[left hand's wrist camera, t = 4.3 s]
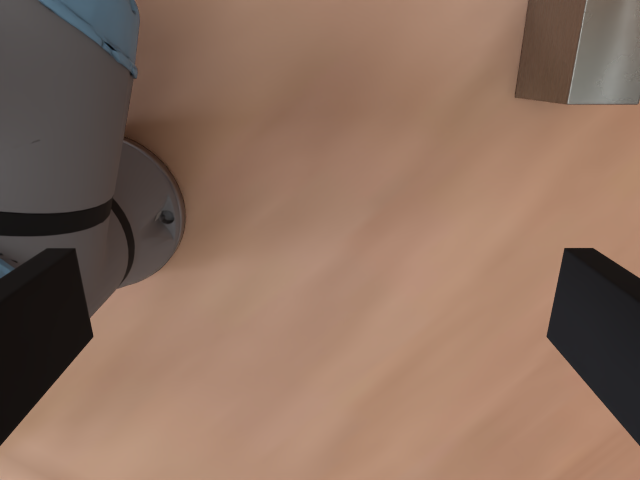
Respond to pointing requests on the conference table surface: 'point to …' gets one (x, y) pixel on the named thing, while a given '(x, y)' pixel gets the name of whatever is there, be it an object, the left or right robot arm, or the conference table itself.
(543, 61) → the bar
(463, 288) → the conference table surface
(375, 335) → the conference table surface
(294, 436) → the conference table surface
